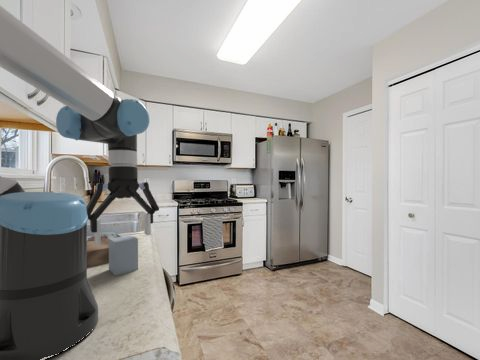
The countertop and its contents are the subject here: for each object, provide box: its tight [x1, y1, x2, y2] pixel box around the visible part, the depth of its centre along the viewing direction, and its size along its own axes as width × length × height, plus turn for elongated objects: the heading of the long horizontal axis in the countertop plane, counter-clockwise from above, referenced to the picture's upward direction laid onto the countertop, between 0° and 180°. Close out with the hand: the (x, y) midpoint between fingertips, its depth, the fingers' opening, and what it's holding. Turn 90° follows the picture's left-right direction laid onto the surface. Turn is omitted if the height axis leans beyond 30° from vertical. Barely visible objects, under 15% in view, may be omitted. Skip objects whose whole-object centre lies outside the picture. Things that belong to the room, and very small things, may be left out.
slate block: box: [108, 234, 139, 276], centre depth 66 cm, size 6×6×9 cm
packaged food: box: [87, 231, 122, 242], centre depth 94 cm, size 9×12×5 cm
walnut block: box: [87, 235, 123, 268], centre depth 78 cm, size 14×14×5 cm
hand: (124, 239), depth 66 cm, fingers open, 13 cm apart
